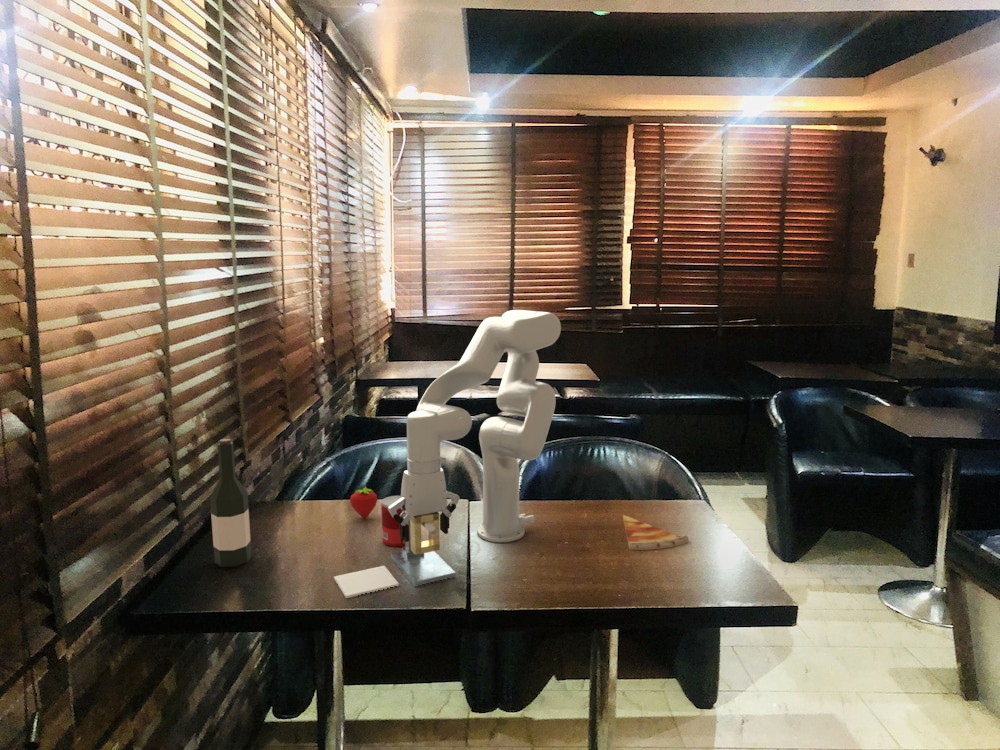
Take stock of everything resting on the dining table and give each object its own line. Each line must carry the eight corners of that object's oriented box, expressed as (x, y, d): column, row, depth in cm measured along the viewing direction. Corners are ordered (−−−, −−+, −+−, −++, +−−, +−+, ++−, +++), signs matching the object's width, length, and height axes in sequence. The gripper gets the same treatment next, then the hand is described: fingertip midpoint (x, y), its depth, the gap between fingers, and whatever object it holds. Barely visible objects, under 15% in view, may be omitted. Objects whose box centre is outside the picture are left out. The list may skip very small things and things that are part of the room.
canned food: (407, 548, 172) (406, 507, 170) (377, 545, 173) (376, 504, 171) (417, 536, 179) (416, 496, 177) (388, 533, 181) (387, 494, 179)
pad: (384, 567, 161) (384, 565, 161) (398, 586, 153) (398, 583, 153) (334, 578, 156) (333, 576, 156) (346, 598, 147) (346, 595, 147)
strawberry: (350, 514, 194) (349, 481, 192) (377, 512, 195) (376, 479, 193) (350, 522, 188) (349, 488, 186) (378, 520, 189) (377, 486, 187)
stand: (428, 550, 171) (428, 495, 168) (455, 577, 157) (455, 518, 154) (390, 558, 166) (389, 502, 164) (414, 586, 152) (413, 526, 150)
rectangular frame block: (434, 545, 162) (434, 509, 160) (439, 549, 159) (439, 513, 157) (410, 550, 159) (410, 513, 157) (415, 555, 156) (414, 517, 155)
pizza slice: (678, 519, 193) (679, 513, 192) (692, 554, 171) (693, 546, 171) (622, 517, 194) (622, 510, 194) (629, 551, 172) (629, 543, 172)
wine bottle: (206, 564, 163) (197, 442, 157) (231, 550, 170) (223, 433, 165) (235, 569, 160) (226, 446, 154) (258, 555, 168) (251, 437, 162)
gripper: (451, 455, 163) (452, 523, 166) (382, 465, 154) (383, 536, 158) (465, 464, 156) (465, 534, 159) (393, 475, 148) (394, 549, 151)
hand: (424, 535), depth 158 cm, fingers open, 9 cm apart
